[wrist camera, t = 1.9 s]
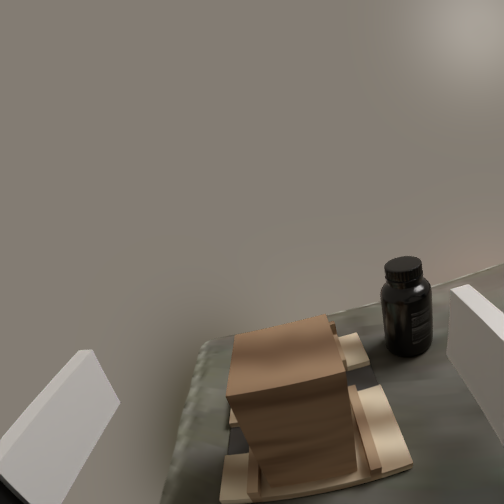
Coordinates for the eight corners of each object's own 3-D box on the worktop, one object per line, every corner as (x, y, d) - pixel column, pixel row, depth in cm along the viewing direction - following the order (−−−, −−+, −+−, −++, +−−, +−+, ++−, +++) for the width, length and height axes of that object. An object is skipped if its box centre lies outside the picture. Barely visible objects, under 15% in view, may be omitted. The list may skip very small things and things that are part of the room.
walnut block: (357, 471, 22) (345, 371, 19) (271, 487, 23) (225, 396, 20) (343, 414, 30) (325, 313, 27) (270, 429, 31) (235, 335, 27)
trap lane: (412, 467, 21) (415, 445, 20) (222, 504, 23) (207, 486, 22) (357, 338, 44) (354, 315, 43) (239, 365, 46) (231, 344, 45)
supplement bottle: (430, 326, 40) (426, 249, 37) (434, 355, 34) (434, 271, 31) (385, 331, 43) (377, 256, 40) (384, 361, 37) (375, 279, 34)
